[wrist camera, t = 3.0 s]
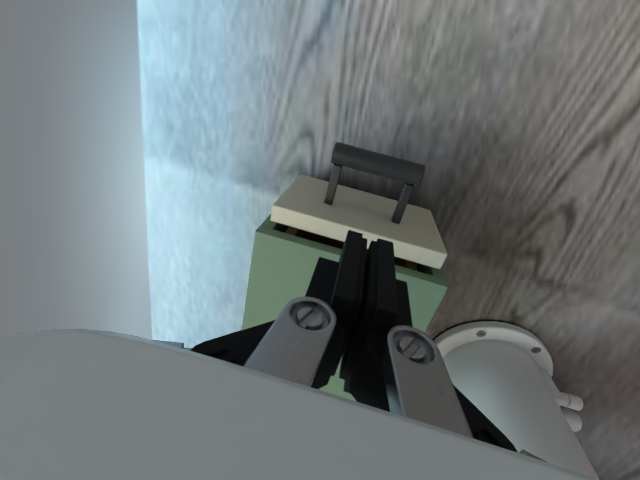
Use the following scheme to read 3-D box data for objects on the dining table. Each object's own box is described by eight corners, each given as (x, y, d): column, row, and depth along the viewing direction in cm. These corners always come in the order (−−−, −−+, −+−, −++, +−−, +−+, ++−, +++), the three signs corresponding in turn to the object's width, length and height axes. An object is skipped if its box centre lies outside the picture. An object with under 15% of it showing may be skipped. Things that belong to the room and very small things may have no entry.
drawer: (310, 122, 25) (283, 137, 18) (452, 160, 24) (480, 191, 17) (275, 300, 34) (248, 356, 27) (377, 331, 33) (376, 396, 26)
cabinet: (293, 186, 28) (255, 231, 20) (428, 224, 28) (449, 287, 19) (269, 312, 36) (234, 384, 27) (375, 344, 35) (373, 428, 27)
